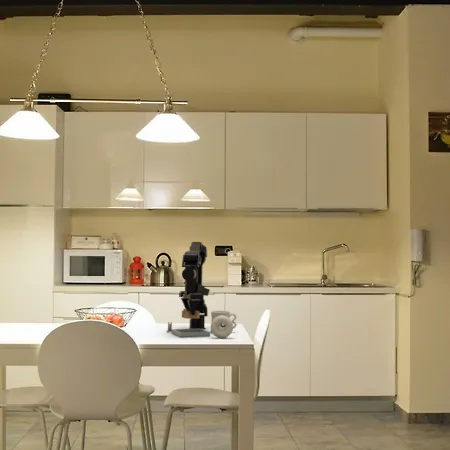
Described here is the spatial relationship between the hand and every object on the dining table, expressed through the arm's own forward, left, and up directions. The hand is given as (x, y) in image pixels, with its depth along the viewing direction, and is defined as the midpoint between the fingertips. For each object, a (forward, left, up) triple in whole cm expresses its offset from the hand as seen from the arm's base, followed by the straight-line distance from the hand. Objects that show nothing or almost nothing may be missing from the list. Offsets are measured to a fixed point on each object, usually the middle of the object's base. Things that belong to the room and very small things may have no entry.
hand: (190, 314), depth 303 cm
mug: (-18, -5, -10) cm, 21 cm away
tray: (0, 0, -9) cm, 9 cm away
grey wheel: (-10, +14, -10) cm, 20 cm away
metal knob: (+6, -13, -9) cm, 17 cm away
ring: (0, 0, -2) cm, 2 cm away
